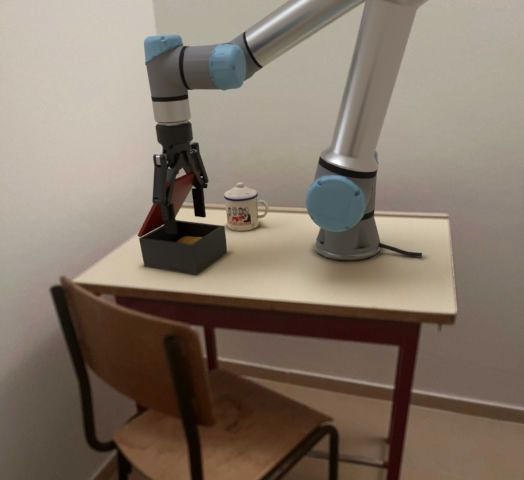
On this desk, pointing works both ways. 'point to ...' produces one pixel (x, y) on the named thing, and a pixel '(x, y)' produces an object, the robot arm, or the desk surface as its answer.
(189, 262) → the dark grey open box
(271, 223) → the desk surface
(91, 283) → the desk surface
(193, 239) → the bread roll
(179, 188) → the red box lid
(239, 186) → the teacup with lid
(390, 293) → the desk surface
